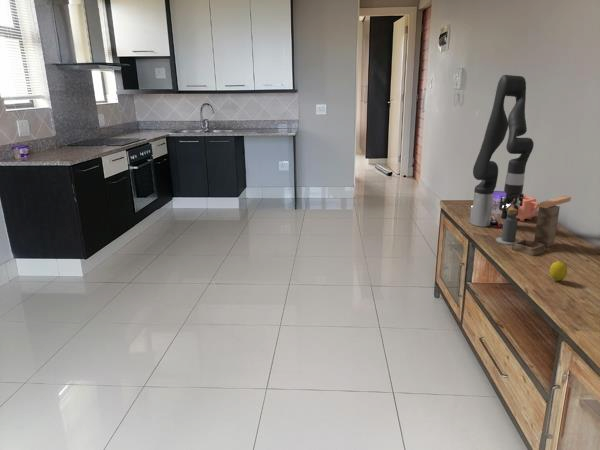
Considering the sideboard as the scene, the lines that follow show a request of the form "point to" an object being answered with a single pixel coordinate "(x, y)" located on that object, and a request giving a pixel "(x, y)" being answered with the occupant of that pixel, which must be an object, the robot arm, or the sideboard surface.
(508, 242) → the mat
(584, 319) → the sideboard surface
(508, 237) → the bottle
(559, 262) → the lemon
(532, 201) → the teapot
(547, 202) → the bar
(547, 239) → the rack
